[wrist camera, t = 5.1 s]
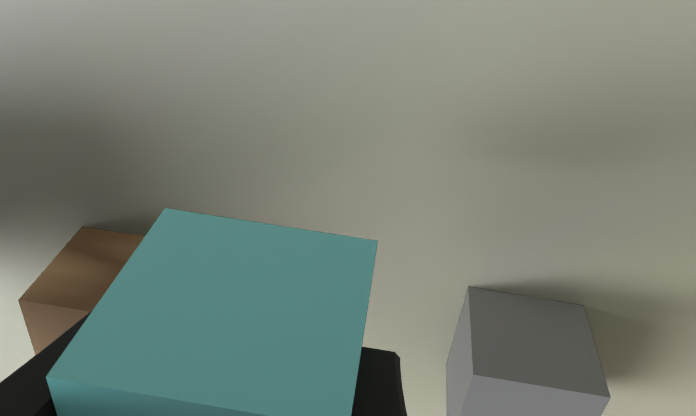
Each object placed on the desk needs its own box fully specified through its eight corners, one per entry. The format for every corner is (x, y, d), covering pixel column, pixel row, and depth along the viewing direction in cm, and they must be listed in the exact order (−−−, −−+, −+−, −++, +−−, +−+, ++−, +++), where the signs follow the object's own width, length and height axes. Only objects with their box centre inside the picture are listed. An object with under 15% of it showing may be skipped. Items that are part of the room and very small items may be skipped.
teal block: (179, 354, 13) (92, 533, 10) (165, 208, 11) (45, 377, 8) (356, 384, 13) (326, 578, 10) (377, 241, 11) (348, 429, 7)
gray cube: (446, 362, 23) (447, 454, 20) (467, 285, 21) (473, 374, 17) (549, 379, 23) (568, 475, 19) (583, 303, 20) (610, 397, 17)
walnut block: (99, 305, 24) (44, 384, 20) (83, 225, 22) (18, 300, 18) (196, 320, 24) (156, 403, 20) (189, 241, 21) (143, 320, 18)
